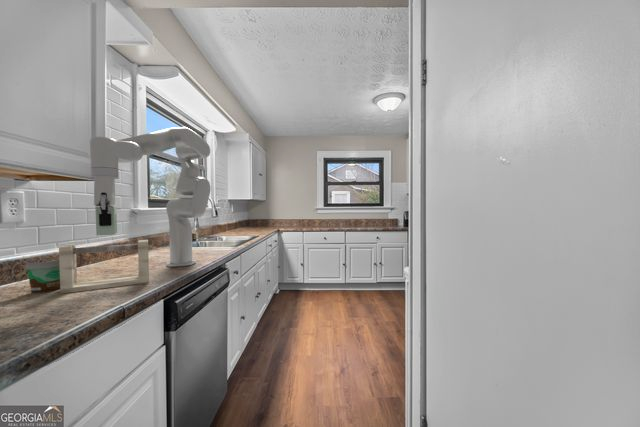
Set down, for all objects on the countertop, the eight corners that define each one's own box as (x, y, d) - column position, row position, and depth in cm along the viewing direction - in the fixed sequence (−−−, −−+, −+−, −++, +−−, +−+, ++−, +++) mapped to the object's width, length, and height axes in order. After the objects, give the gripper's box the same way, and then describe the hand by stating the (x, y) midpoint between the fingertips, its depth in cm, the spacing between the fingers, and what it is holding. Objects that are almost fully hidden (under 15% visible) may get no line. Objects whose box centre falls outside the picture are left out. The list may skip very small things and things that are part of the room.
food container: (40, 295, 86) (39, 263, 86) (25, 294, 88) (24, 263, 87) (81, 284, 99) (80, 256, 98) (68, 283, 100) (67, 255, 99)
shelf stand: (65, 288, 93) (64, 244, 92) (148, 278, 106) (148, 239, 105) (60, 293, 88) (58, 247, 87) (148, 282, 100) (147, 241, 100)
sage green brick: (99, 233, 98) (98, 206, 97) (117, 232, 100) (116, 206, 100) (96, 235, 92) (95, 207, 91) (115, 234, 94) (114, 206, 94)
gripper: (95, 175, 101) (97, 224, 101) (86, 170, 86) (88, 227, 87) (120, 176, 105) (122, 223, 105) (115, 172, 90) (117, 226, 91)
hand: (107, 224), depth 96 cm, fingers closed on sage green brick, 7 cm apart
